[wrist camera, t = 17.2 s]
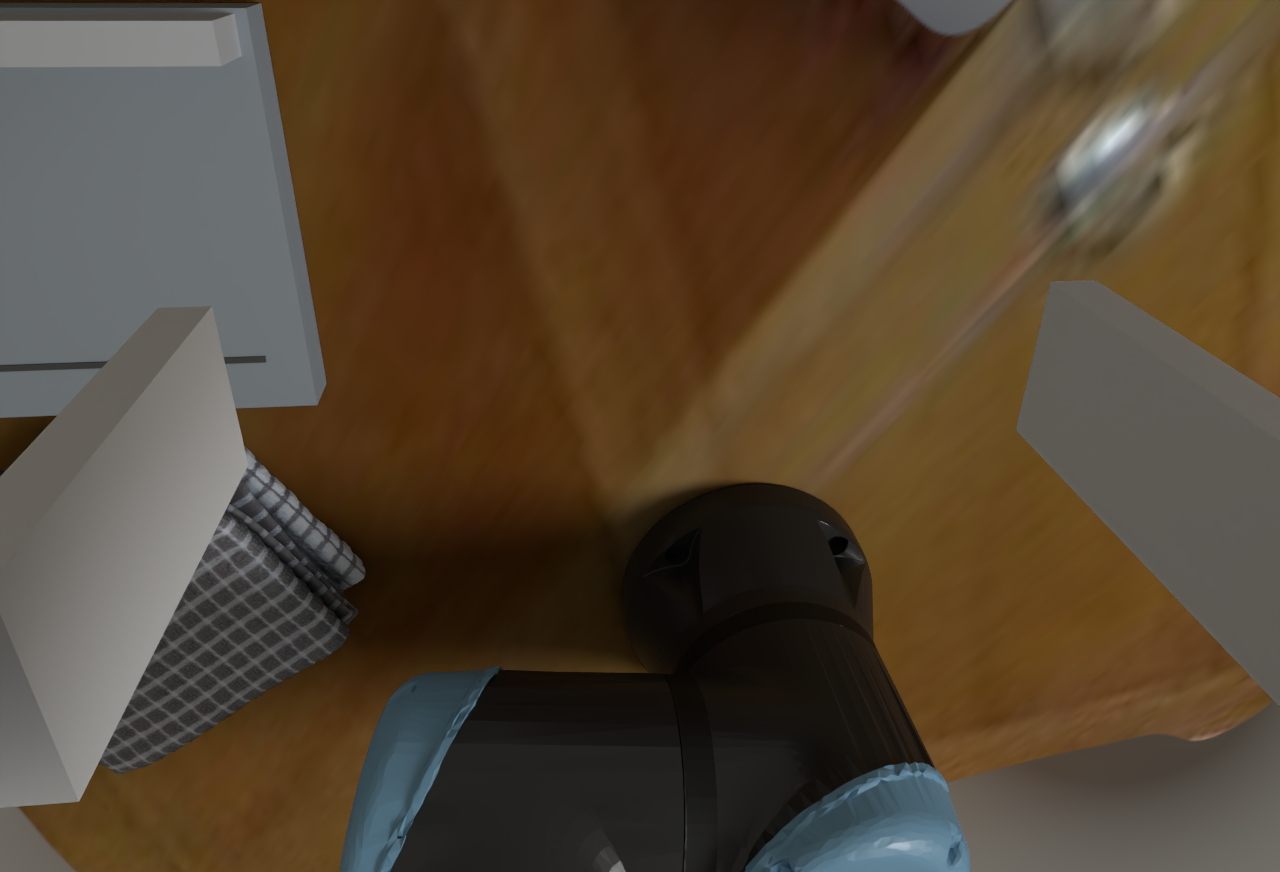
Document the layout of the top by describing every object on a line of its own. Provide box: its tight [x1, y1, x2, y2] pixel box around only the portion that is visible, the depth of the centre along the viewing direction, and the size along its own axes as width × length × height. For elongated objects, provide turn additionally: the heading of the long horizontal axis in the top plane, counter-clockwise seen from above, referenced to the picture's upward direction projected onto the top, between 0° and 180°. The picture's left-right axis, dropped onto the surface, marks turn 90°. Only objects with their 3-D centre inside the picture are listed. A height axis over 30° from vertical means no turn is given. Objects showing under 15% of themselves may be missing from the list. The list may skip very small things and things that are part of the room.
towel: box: [99, 447, 366, 774], centre depth 50 cm, size 15×18×8 cm
